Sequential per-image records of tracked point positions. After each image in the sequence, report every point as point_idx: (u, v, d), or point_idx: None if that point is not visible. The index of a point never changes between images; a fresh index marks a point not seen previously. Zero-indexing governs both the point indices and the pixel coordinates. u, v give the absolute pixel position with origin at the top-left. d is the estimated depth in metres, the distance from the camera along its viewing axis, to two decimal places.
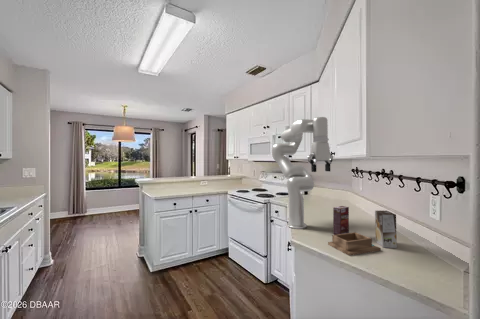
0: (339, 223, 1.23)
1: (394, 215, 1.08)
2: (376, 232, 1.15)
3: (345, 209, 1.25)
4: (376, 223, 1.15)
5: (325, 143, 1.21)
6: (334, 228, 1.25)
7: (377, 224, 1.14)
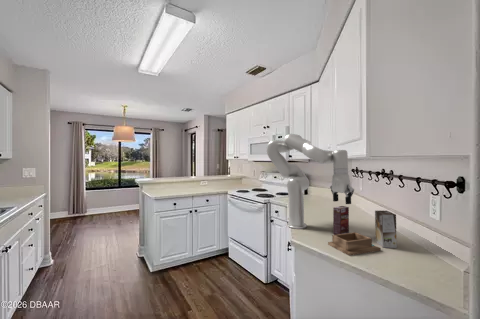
0: (339, 223, 1.23)
1: (394, 215, 1.08)
2: (376, 232, 1.15)
3: (345, 209, 1.25)
4: (376, 223, 1.15)
5: None
6: (334, 228, 1.25)
7: (377, 224, 1.14)
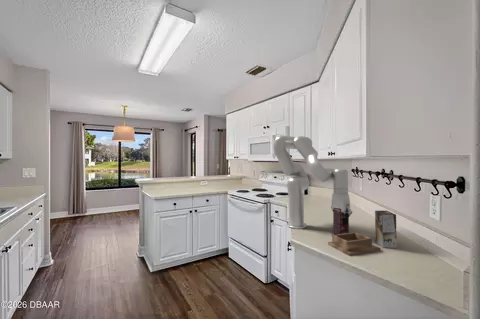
0: (339, 223, 1.23)
1: (394, 215, 1.08)
2: (376, 232, 1.15)
3: None
4: (376, 223, 1.15)
5: None
6: (334, 228, 1.25)
7: (377, 224, 1.14)
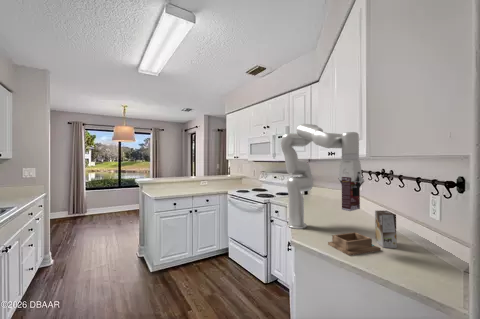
0: (349, 194, 1.05)
1: (394, 215, 1.08)
2: (376, 232, 1.15)
3: None
4: (376, 223, 1.15)
5: None
6: (343, 200, 1.08)
7: (377, 224, 1.14)
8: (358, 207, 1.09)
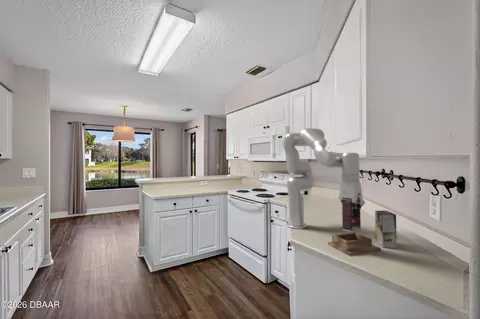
0: (349, 215, 1.05)
1: (394, 215, 1.08)
2: (376, 232, 1.15)
3: None
4: (376, 223, 1.15)
5: None
6: (343, 221, 1.07)
7: (377, 224, 1.14)
8: (359, 228, 1.08)
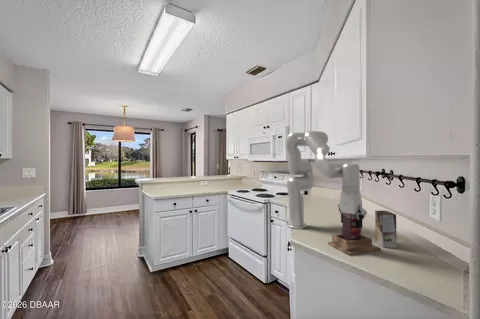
0: (349, 231, 1.05)
1: (394, 215, 1.08)
2: (376, 232, 1.15)
3: None
4: (376, 223, 1.15)
5: None
6: (343, 236, 1.07)
7: (377, 224, 1.14)
8: None
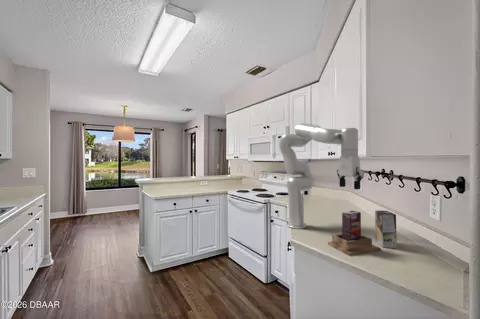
0: (349, 231, 1.05)
1: (394, 215, 1.08)
2: (376, 232, 1.15)
3: (356, 215, 1.07)
4: (376, 223, 1.15)
5: None
6: (343, 236, 1.08)
7: (377, 224, 1.14)
8: None
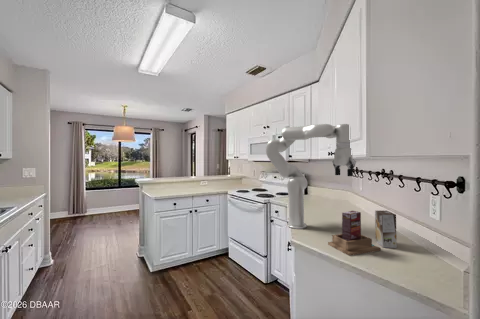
0: (349, 231, 1.05)
1: (394, 215, 1.08)
2: (376, 232, 1.15)
3: (356, 215, 1.07)
4: (376, 223, 1.15)
5: None
6: (343, 236, 1.08)
7: (377, 224, 1.14)
8: None
